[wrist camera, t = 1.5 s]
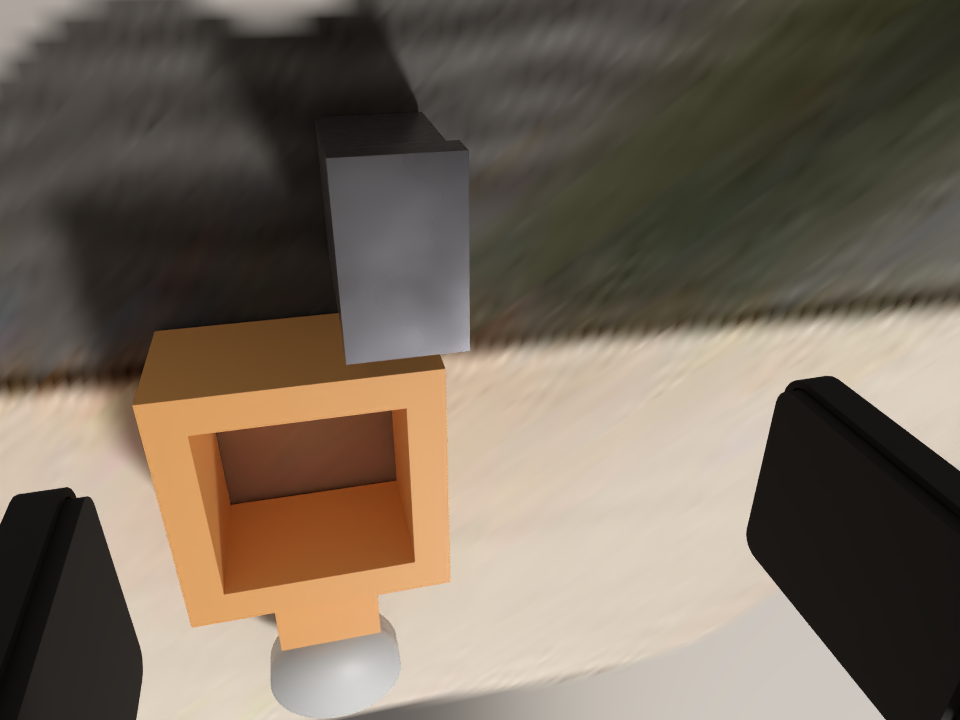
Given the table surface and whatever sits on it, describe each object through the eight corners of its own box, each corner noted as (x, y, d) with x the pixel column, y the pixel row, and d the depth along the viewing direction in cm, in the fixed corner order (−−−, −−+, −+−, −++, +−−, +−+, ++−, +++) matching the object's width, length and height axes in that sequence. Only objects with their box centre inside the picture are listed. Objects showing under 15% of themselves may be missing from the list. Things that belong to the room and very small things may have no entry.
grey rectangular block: (421, 98, 23) (468, 150, 17) (426, 260, 25) (469, 350, 20) (312, 102, 22) (325, 158, 16) (330, 268, 24) (346, 364, 19)
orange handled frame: (154, 331, 24) (132, 405, 20) (419, 305, 26) (445, 368, 22) (236, 675, 32) (231, 774, 28) (433, 637, 34) (453, 726, 30)
